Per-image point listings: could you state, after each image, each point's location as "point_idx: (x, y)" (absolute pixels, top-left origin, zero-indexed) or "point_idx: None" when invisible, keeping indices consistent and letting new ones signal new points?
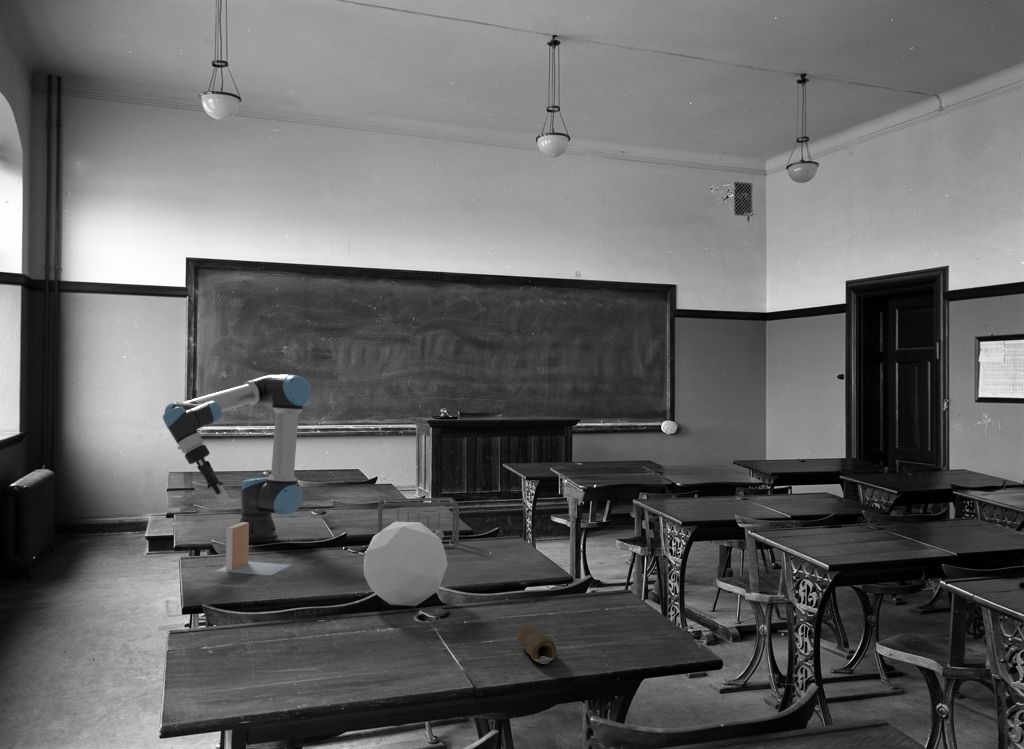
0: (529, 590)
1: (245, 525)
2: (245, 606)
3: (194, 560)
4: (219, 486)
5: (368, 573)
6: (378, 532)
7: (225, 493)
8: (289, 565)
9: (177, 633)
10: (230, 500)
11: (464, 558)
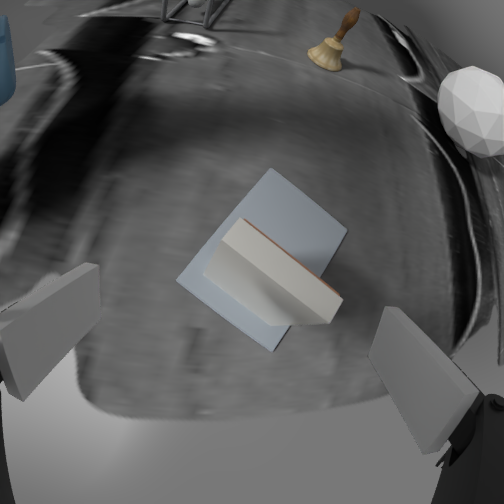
0: (408, 48)
1: (266, 237)
2: (465, 296)
3: (115, 396)
4: (461, 374)
5: (497, 154)
6: (165, 7)
7: (59, 296)
8: (275, 172)
9: (499, 365)
10: (97, 267)
11: (292, 5)
